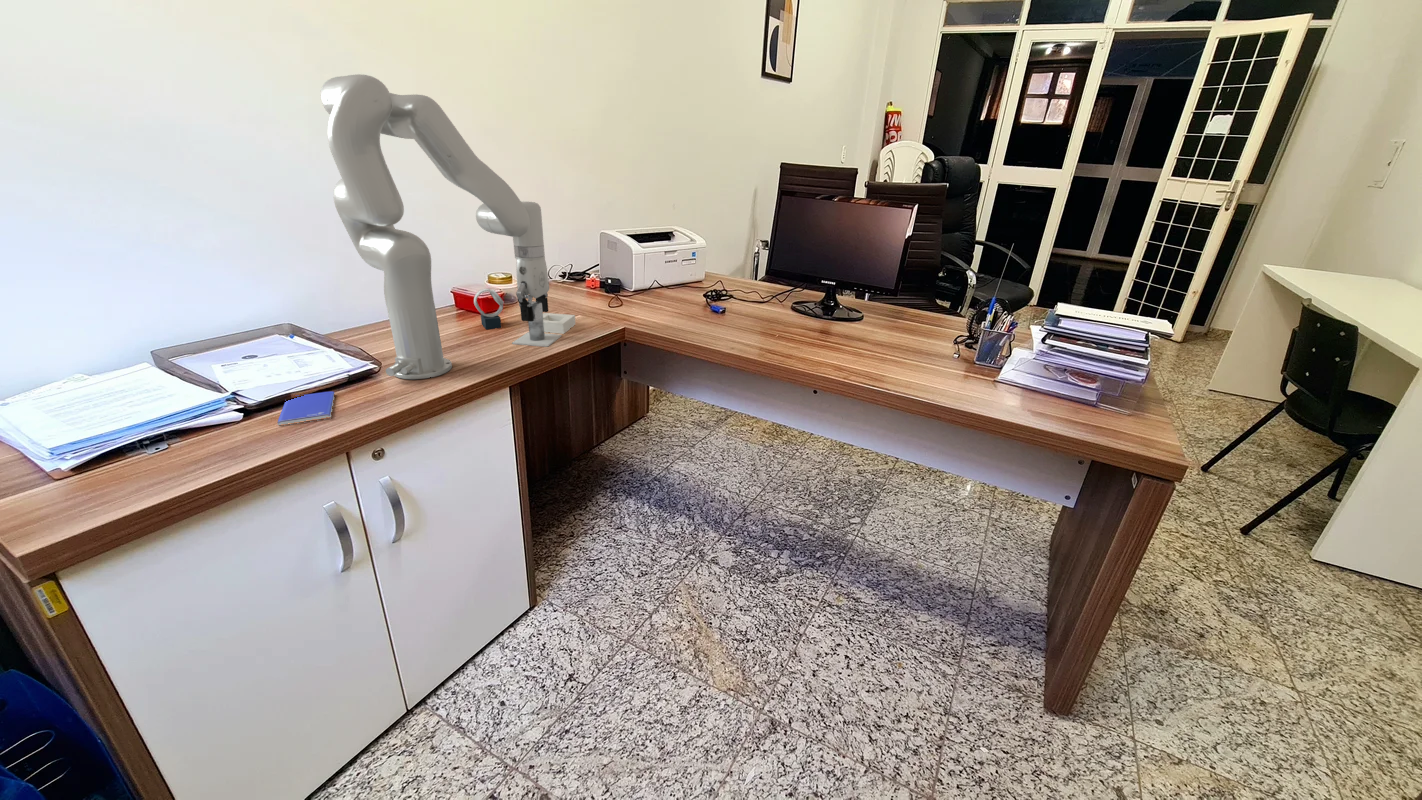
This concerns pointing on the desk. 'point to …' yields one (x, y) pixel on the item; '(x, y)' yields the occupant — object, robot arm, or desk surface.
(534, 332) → the peg
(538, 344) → the mat
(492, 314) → the grey ring on block
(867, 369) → the desk surface
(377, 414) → the desk surface
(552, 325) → the grey square socket block
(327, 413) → the blue book
